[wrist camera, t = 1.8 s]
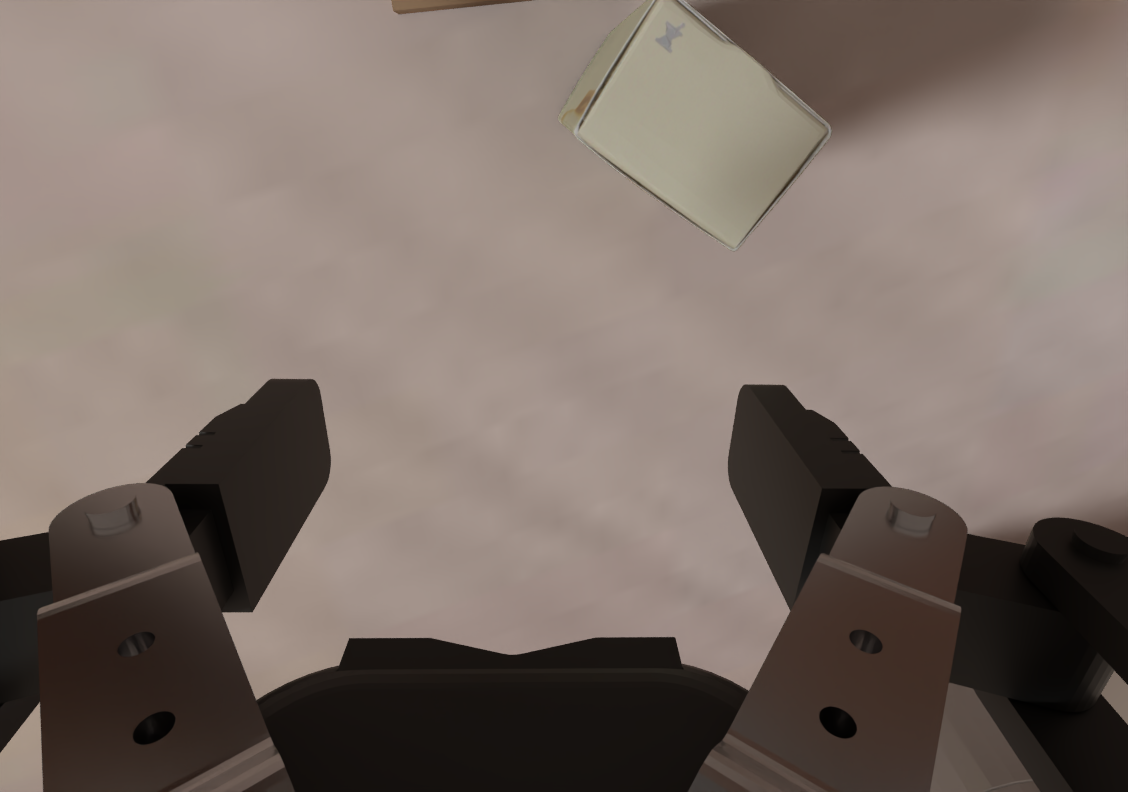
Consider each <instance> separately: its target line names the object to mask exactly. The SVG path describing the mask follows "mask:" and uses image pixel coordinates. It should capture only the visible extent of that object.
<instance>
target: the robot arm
mask: <svg viewBox="0 0 1128 792" xmlns="http://www.w3.org/2000/svg"><path fill="white" fill-rule="evenodd" d="M859 452H860V451H859V449H858V448H857V447H856V446H855V445H854V444H853V443H852V442H851V441H848V437H847V436H846V435H845V434H844V433H843V432H842V431H841V429H840V428H839V427H838V426H837V425H836V424H835V423H834V422H832V421H830V420H829V419H827V418H825V417H823V416H822V415H820V414H818V413H817V412H815V411H813V410H806V409H805V408H804V407H803V406H802V405H801V403H800V402H799V401H798V400H797V399H796V397H795V396H794V395H793V394H792V393H791V392H790V390H789V389H788V388H787V387H786V386H785V385H743V386H742V388H741V390H740V392H739V395H738V400H737V407H736V413H735V419H734V425H733V431H732V438H731V444H730V450H729V457H728V475H729V481H730V485H731V488H732V490H733V492H734V494H735V496H736V499H737V501H738V503H739V505H740V507H741V509H742V511H743V513H744V515H745V517H746V519H747V521H748V524H749V526H750V528H751V530H752V532H753V534H754V536H755V538H756V540H757V542H758V544H759V546H760V549H761V551H762V553H763V555H764V557H765V559H766V561H767V563H768V565H769V567H770V569H771V571H772V574H773V576H774V578H775V580H776V582H777V584H778V586H779V588H780V590H781V592H782V594H783V596H784V598H785V601H786V603H787V605H788V607H789V609H790V613H789V615H788V617H787V619H786V621H785V623H784V625H783V627H782V628H781V630H780V632H779V634H778V636H777V638H776V640H775V642H774V644H773V646H772V648H771V650H770V652H769V653H768V655H767V657H766V659H765V661H764V663H763V665H762V667H761V669H760V671H759V673H758V675H757V677H756V678H755V680H754V682H753V684H752V686H751V688H750V690H749V691H748V690H746V689H745V688H743V687H741V686H739V685H737V684H736V683H734V682H732V681H730V680H728V679H726V678H723V677H721V676H719V675H716V674H714V673H712V672H709V671H706V670H703V669H700V668H697V667H694V666H690V665H685V664H681V660H680V656H679V651H678V647H677V643H676V639H675V637H621V638H592V639H587V640H583V641H578V642H574V643H569V644H565V645H560V646H556V647H551V648H546V649H542V650H537V651H533V652H528V653H524V654H518V655H507V654H501V653H497V652H492V651H487V650H483V649H478V648H474V647H469V646H464V645H460V644H455V643H450V642H446V641H441V640H437V639H432V638H349V641H348V643H347V646H346V649H345V651H344V654H343V657H342V660H341V662H340V665H339V666H335V667H331V668H327V669H324V670H321V671H317V672H314V673H311V674H308V675H306V676H303V677H301V678H298V679H296V680H294V681H291V682H289V683H287V684H285V685H283V686H281V687H279V688H277V689H275V690H273V691H271V692H269V693H267V694H266V695H264V696H263V697H261V698H259V699H258V700H256V699H255V696H254V693H253V691H252V688H251V686H250V683H249V681H248V678H247V676H246V673H245V670H244V668H243V665H242V663H241V660H240V658H239V655H238V653H237V650H236V647H235V645H234V642H233V640H232V637H231V635H230V632H229V629H228V627H227V624H226V622H225V619H224V617H223V614H222V612H253V610H254V609H255V607H256V605H257V604H258V602H259V600H260V598H261V597H262V595H263V593H264V591H265V590H266V588H267V586H268V585H269V583H270V581H271V579H272V578H273V576H274V574H275V572H276V571H277V569H278V567H279V566H280V564H281V562H282V560H283V559H284V557H285V555H286V553H287V552H288V550H289V548H290V547H291V545H292V543H293V541H294V540H295V538H296V536H297V534H298V533H299V531H300V529H301V528H302V526H303V524H304V522H305V521H306V519H307V517H308V516H309V514H310V512H311V510H312V509H313V507H314V505H315V503H316V502H317V500H318V498H319V497H320V495H321V493H322V491H323V490H324V488H325V486H326V484H327V481H328V478H329V474H330V466H331V456H330V448H329V442H328V436H327V430H326V424H325V418H324V412H323V406H322V400H321V394H320V390H319V387H318V384H317V383H316V381H315V380H313V379H270V380H269V381H267V382H266V383H265V384H264V385H263V386H262V387H261V388H260V389H259V390H258V391H257V392H256V393H255V394H254V395H253V396H252V397H251V398H250V399H249V400H248V401H247V402H246V403H245V404H240V405H238V406H236V407H234V408H232V409H230V410H228V411H226V412H224V413H222V414H220V415H218V416H216V417H215V418H214V419H213V420H212V421H211V422H210V423H209V424H207V425H206V426H205V427H204V428H203V429H202V430H201V431H200V432H199V435H196V436H195V437H194V438H193V439H192V440H191V441H189V442H188V443H187V444H186V448H182V449H181V450H180V451H179V452H178V453H177V454H176V455H175V456H174V457H173V458H171V459H170V460H169V461H168V462H167V463H166V464H165V465H164V466H163V467H162V468H161V469H160V470H159V471H158V472H157V473H156V474H155V475H153V476H152V477H151V478H150V479H149V480H148V481H147V482H146V483H136V484H127V485H121V486H116V487H112V488H108V489H105V490H102V491H99V492H96V493H94V494H91V495H88V496H86V497H84V498H82V499H80V500H78V501H76V502H74V503H73V504H71V505H69V506H68V507H67V508H65V509H64V510H62V511H61V512H60V513H59V514H58V515H57V516H56V517H55V518H54V519H53V521H52V522H51V524H50V526H49V532H47V533H41V534H36V535H30V536H24V537H18V538H13V539H7V540H1V541H0V752H1V751H2V750H3V749H4V747H5V746H6V745H7V743H8V742H9V741H10V740H11V738H12V737H13V736H14V734H15V733H16V732H17V731H18V729H19V728H20V727H21V725H22V724H23V723H24V722H25V720H26V719H27V718H28V716H29V715H30V714H31V713H32V711H33V710H34V709H35V707H36V706H37V705H38V703H39V702H40V717H41V745H42V773H43V792H1128V725H1127V724H1126V722H1125V721H1124V720H1123V719H1122V718H1121V717H1120V715H1119V714H1118V713H1117V712H1116V711H1115V710H1114V709H1113V707H1112V706H1111V705H1110V704H1109V703H1108V702H1107V700H1106V699H1105V698H1104V697H1103V696H1102V695H1101V692H1102V691H1103V689H1104V687H1105V686H1106V684H1107V682H1108V680H1109V679H1110V677H1111V675H1112V674H1113V672H1114V670H1115V671H1116V673H1117V674H1118V675H1119V676H1120V677H1121V678H1122V679H1123V680H1124V681H1125V682H1126V683H1127V684H1128V537H1126V536H1124V535H1122V534H1120V533H1117V532H1115V531H1113V530H1110V529H1108V528H1105V527H1102V526H1099V525H1096V524H1093V523H1089V522H1085V521H1081V520H1076V519H1070V518H1047V519H1043V520H1040V521H1038V522H1037V523H1036V524H1035V525H1034V527H1033V529H1032V531H1031V533H1030V536H1029V538H1028V540H1027V543H1026V545H1021V544H1016V543H1011V542H1006V541H1001V540H995V539H990V538H985V537H980V536H975V535H971V534H967V526H966V524H965V522H964V520H963V519H962V518H961V517H960V516H959V515H958V513H956V512H955V511H954V510H953V509H951V508H950V507H949V506H947V505H945V504H944V503H942V502H940V501H938V500H937V499H934V498H932V497H930V496H928V495H925V494H922V493H919V492H916V491H912V490H909V489H904V488H897V487H892V486H891V485H890V484H889V483H888V482H887V480H886V479H885V478H884V477H883V476H882V475H881V474H880V473H879V472H878V471H877V469H876V468H875V467H874V466H873V465H872V464H871V463H870V462H869V461H868V459H867V458H866V457H865V456H864V455H863V454H860V453H859Z"/></svg>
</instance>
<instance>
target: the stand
mask: <svg viewBox="0 0 1128 792" xmlns="http://www.w3.org/2000/svg"><path fill="white" fill-rule="evenodd" d="M391 1H392V7H393V11H394V12H396V13H398V14H406V13H415V12H425V11H435V10H444V9H454V8H463V7H473V6H483V5H492V4H502V3H512V2H521V1H531V0H391Z"/></svg>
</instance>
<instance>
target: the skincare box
mask: <svg viewBox="0 0 1128 792" xmlns="http://www.w3.org/2000/svg"><path fill="white" fill-rule="evenodd" d="M558 120H559V122H560V123H561V124H562V125H563V126H565V127H566V128H567V129H568V130H570V131H571V132H572V133H573V134H574V135H575V136H576V138H577V139H578V140H579V141H581V142H582V143H583V144H584V145H585V146H587V147H588V148H589V149H590V150H591V151H593V152H594V153H595V154H596V155H597V156H599V157H600V158H601V159H602V160H604V161H605V162H606V163H607V164H609V165H610V166H611V167H612V168H614V169H615V170H616V171H617V172H619V173H620V174H621V175H623V176H624V177H625V178H627V179H628V180H630V181H631V182H632V183H634V184H635V185H636V186H638V187H639V188H640V189H642V190H643V191H644V192H646V193H647V194H649V195H650V196H651V197H653V198H654V199H656V200H657V201H658V202H660V203H661V204H663V205H664V206H666V207H667V208H668V209H670V210H671V211H673V212H674V213H676V214H677V215H679V216H680V217H682V218H683V219H684V220H686V221H687V222H689V223H690V224H692V225H693V226H695V227H696V228H698V229H699V230H701V231H702V232H704V233H705V234H707V235H708V236H710V237H711V238H713V239H714V240H716V241H717V242H719V243H720V244H722V245H723V246H725V247H726V248H728V249H729V250H731V251H737V250H738V249H739V248H740V247H741V246H742V244H743V243H744V242H745V241H746V239H747V238H748V237H749V236H750V234H751V233H752V232H753V231H754V230H755V229H756V228H757V227H758V225H759V224H760V223H761V222H762V221H763V219H764V218H765V217H766V216H767V214H768V213H769V212H770V211H771V210H772V209H773V208H774V206H775V205H776V204H777V203H778V202H779V200H780V199H781V198H782V197H783V196H784V194H785V193H786V192H787V190H788V189H789V188H790V187H791V186H792V185H793V183H794V182H795V181H796V180H797V179H798V177H799V176H800V175H801V174H802V173H803V171H804V170H805V169H806V168H807V166H808V165H809V164H810V162H811V161H812V160H813V159H814V157H815V156H816V155H817V154H818V152H819V151H820V150H821V149H822V148H823V146H824V145H825V144H826V142H827V141H828V140H829V138H830V137H831V133H832V130H831V126H830V124H829V123H828V122H827V121H825V120H824V119H823V118H822V117H821V116H820V115H818V114H817V113H816V112H815V111H814V110H813V109H812V108H811V107H809V106H808V105H807V104H806V103H805V102H804V101H803V100H801V99H800V98H799V97H798V96H797V95H796V94H794V93H793V92H792V91H791V90H790V89H789V88H788V87H786V86H785V85H784V84H783V83H782V82H780V81H779V80H778V79H777V78H776V77H775V76H774V75H772V74H771V73H770V72H769V71H768V70H767V69H766V68H765V67H763V66H762V65H761V64H760V63H759V62H757V61H756V60H755V59H754V58H753V57H752V56H750V55H749V54H748V53H747V52H746V51H744V50H743V49H742V48H741V47H739V46H738V45H737V44H736V43H735V42H733V41H732V40H731V39H730V38H729V37H727V36H726V35H725V34H724V33H723V32H721V31H720V30H719V29H718V28H717V27H716V26H715V25H713V24H712V23H711V22H710V21H709V20H707V19H706V18H705V17H704V16H703V15H701V14H700V13H699V12H698V11H697V10H696V9H695V8H693V7H692V6H691V5H689V4H688V3H687V2H686V1H684V0H647V1H646V2H644V3H643V4H642V5H641V6H640V7H639V8H637V9H636V10H635V11H634V12H633V13H632V14H630V15H629V16H628V17H627V18H626V19H625V20H624V21H623V22H621V23H620V24H619V25H618V26H617V27H616V28H615V29H614V30H612V31H611V32H610V33H609V35H608V36H607V38H606V39H605V41H604V42H603V44H602V45H601V47H600V48H599V50H598V51H597V53H596V54H595V56H594V57H593V59H592V61H591V62H590V64H589V65H588V67H587V68H586V70H585V72H584V73H583V75H582V77H581V78H580V80H579V81H578V83H577V85H576V86H575V88H574V90H573V91H572V93H571V95H570V97H569V98H568V100H567V102H566V104H565V105H564V107H563V109H562V111H561V113H560V115H559V117H558Z"/></svg>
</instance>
